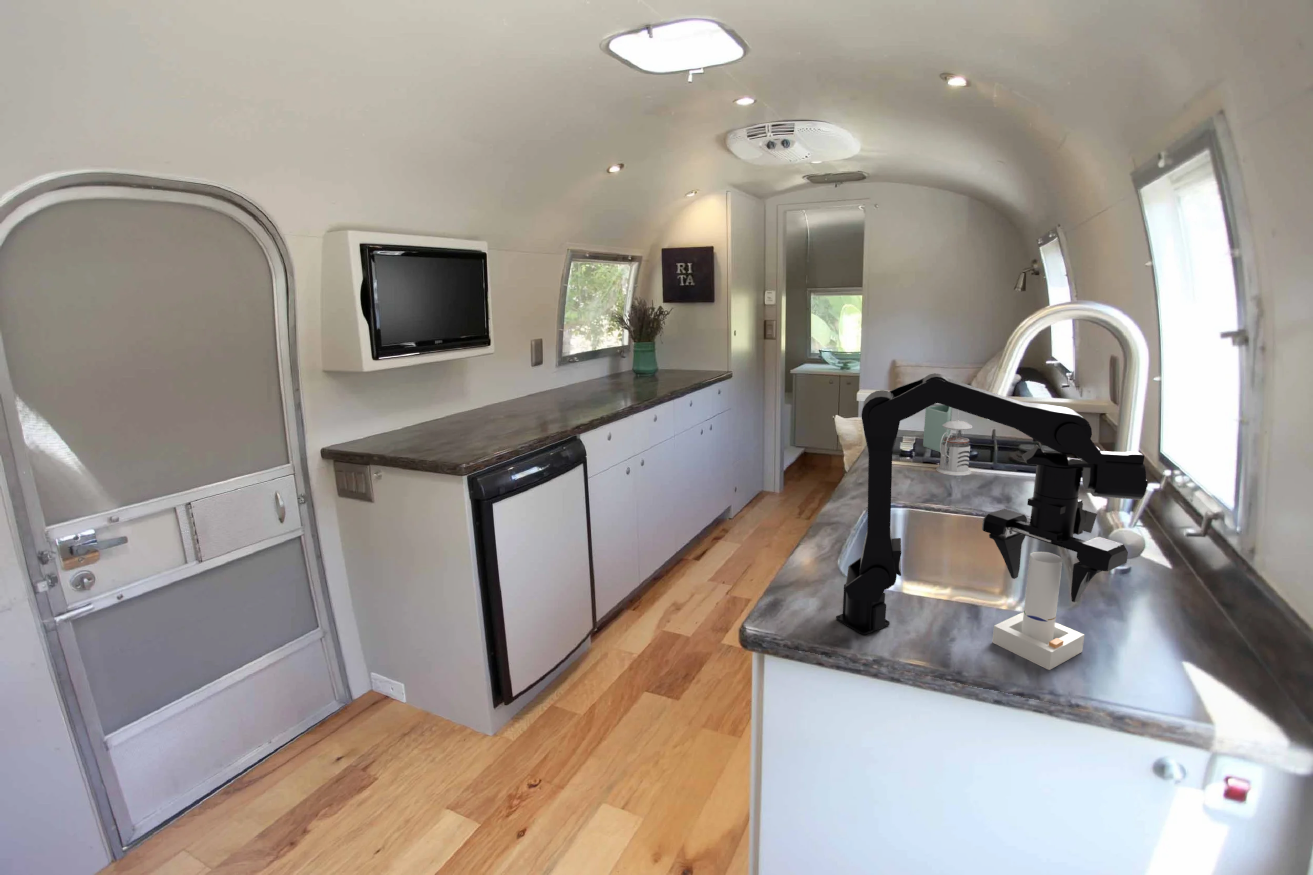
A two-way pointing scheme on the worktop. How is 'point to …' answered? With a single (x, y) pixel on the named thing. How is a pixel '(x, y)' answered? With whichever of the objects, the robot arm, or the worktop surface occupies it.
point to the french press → (955, 450)
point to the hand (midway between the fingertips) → (1043, 589)
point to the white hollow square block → (1038, 643)
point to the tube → (1042, 596)
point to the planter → (936, 426)
